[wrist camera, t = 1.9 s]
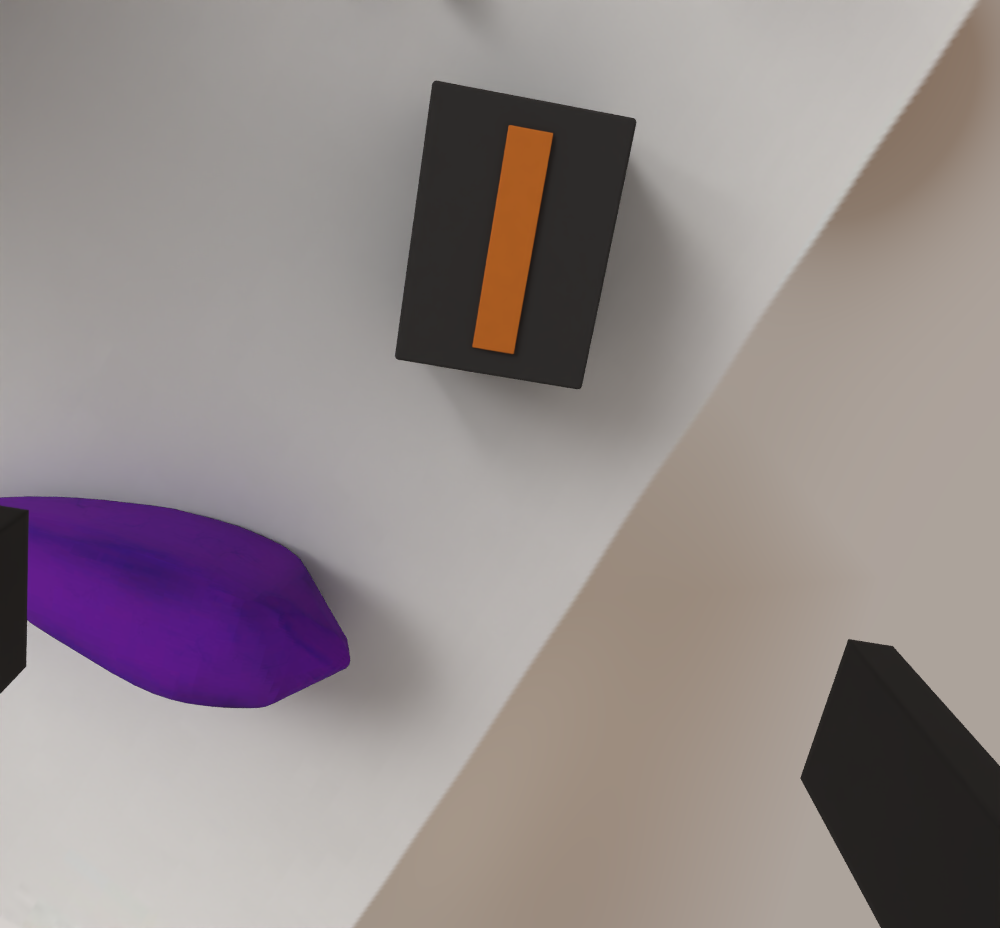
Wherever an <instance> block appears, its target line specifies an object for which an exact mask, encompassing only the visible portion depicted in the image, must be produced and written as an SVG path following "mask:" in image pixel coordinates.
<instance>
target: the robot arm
mask: <svg viewBox="0 0 1000 928" xmlns="http://www.w3.org/2000/svg"><path fill="white" fill-rule="evenodd" d="M28 530H29V510H26V509H20V508H13V507H7V506H1V505H0V693H1V692H2V691H3V690H4V689H5V688H6V687H7V686H8V685H9V684H10V683H11V682H12V681H13V680H14V679H15V678H16V677H17V676H18V674H19V673H20V672H21V671H22V670H23V669H24V668H25V667H26V647H27V589H28ZM801 780H802V782H803V784H804V786H805V788H806V789H807V791H808V793H809V795H810V797H811V799H812V801H813V803H814V804H815V806H816V808H817V810H818V812H819V814H820V815H821V817H822V819H823V821H824V823H825V824H826V827H827V829H828V830H829V832H830V834H831V836H832V838H833V839H834V841H835V843H836V845H837V847H838V849H839V851H840V853H841V854H842V856H843V858H844V860H845V862H846V864H847V865H848V868H849V869H850V871H851V873H852V875H853V877H854V879H855V880H856V882H857V884H858V886H859V888H860V890H861V892H862V894H863V895H864V897H865V899H866V901H867V903H868V905H869V906H870V908H871V910H872V912H873V914H874V916H875V918H876V920H877V921H878V923H879V925H880V927H881V928H1000V766H999V765H998V764H997V762H996V761H995V760H994V759H993V758H992V757H991V756H990V755H989V753H988V752H987V751H986V750H985V749H984V748H983V747H982V746H981V745H980V744H979V742H978V741H977V740H976V739H975V738H974V737H973V736H972V734H971V733H970V732H969V731H968V730H967V729H966V728H965V727H964V725H963V724H962V723H961V722H960V721H959V720H958V719H957V718H956V717H955V715H954V714H953V713H952V712H951V711H950V710H949V709H948V708H947V706H946V705H945V704H944V703H943V702H942V701H941V700H940V699H939V697H937V695H936V694H935V693H934V692H933V691H932V690H931V689H930V687H929V686H928V685H927V684H926V683H925V682H924V681H923V680H922V678H921V677H920V676H919V675H918V674H917V673H916V672H915V671H914V670H913V669H912V667H911V666H910V665H909V664H908V663H907V662H906V661H905V660H904V658H903V657H902V656H901V655H900V654H899V653H898V652H897V651H896V649H895V648H894V647H893V646H888V645H882V644H875V643H869V642H863V641H856V640H850V639H849V640H848V642H847V645H846V648H845V651H844V654H843V656H842V659H841V662H840V665H839V668H838V671H837V674H836V677H835V679H834V683H833V685H832V688H831V691H830V694H829V697H828V700H827V703H826V705H825V708H824V711H823V714H822V717H821V720H820V723H819V726H818V729H817V732H816V735H815V737H814V741H813V743H812V746H811V749H810V752H809V755H808V758H807V761H806V763H805V766H804V769H803V772H802V775H801Z"/></svg>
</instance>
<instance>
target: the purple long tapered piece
mask: <svg viewBox="0 0 1000 928" xmlns="http://www.w3.org/2000/svg"><path fill="white" fill-rule="evenodd" d="M0 505H1V506H7V507H13V508H20V509H26V510H29V530H28V589H27V620H28V621H29V622H30V623H32V624H33V625H35V626H36V627H38V628H39V629H41V630H42V631H44V632H46V633H47V634H49V635H50V636H52V637H53V638H55V639H57V640H58V641H60V642H62V643H63V644H65V645H67V646H68V647H70V648H72V649H73V650H75V651H77V652H78V653H80V654H81V655H83V656H85V657H86V658H88V659H90V660H91V661H93V662H95V663H96V664H98V665H100V666H101V667H103V668H105V669H106V670H108V671H109V672H111V673H113V674H115V675H117V676H119V677H120V678H122V679H124V680H126V681H128V682H129V683H131V684H133V685H135V686H138V687H140V688H142V689H144V690H146V691H149V692H151V693H153V694H156V695H159V696H162V697H165V698H168V699H171V700H175V701H180V702H184V703H189V704H196V705H203V706H211V707H223V708H260V707H266V706H268V705H271V704H273V703H276V702H278V701H280V700H282V699H284V698H285V697H287V696H290V695H292V694H294V693H296V692H298V691H300V690H302V689H304V688H306V687H308V686H310V685H312V684H314V683H317V682H319V681H321V680H323V679H325V678H327V677H329V676H331V675H333V674H335V673H337V672H339V671H341V670H343V669H346V668H347V667H348V665H349V663H350V655H349V647H348V642H347V638H346V636H345V635H344V633H343V631H342V629H341V628H340V626H339V624H338V623H337V621H336V619H335V617H334V616H333V614H332V612H331V610H330V609H329V607H328V605H327V603H326V602H325V600H324V598H323V596H322V595H321V593H320V591H319V590H318V588H317V586H316V584H315V583H314V581H313V579H312V577H311V576H310V574H309V572H308V571H307V569H306V567H305V566H304V564H303V563H302V561H301V560H300V559H299V558H298V557H297V556H296V555H295V554H293V553H292V552H291V551H290V550H288V549H287V548H285V547H284V546H282V545H280V544H278V543H276V542H274V541H272V540H270V539H268V538H265V537H263V536H261V535H259V534H256V533H254V532H251V531H249V530H246V529H244V528H241V527H239V526H236V525H232V524H229V523H226V522H222V521H219V520H216V519H212V518H208V517H204V516H200V515H196V514H192V513H188V512H184V511H180V510H176V509H172V508H165V507H158V506H152V505H143V504H134V503H125V502H117V501H108V500H98V499H86V498H70V497H33V496H27V497H3V498H0Z"/></svg>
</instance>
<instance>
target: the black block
mask: <svg viewBox="0 0 1000 928" xmlns="http://www.w3.org/2000/svg"><path fill="white" fill-rule="evenodd" d="M635 126H636V120H635V119H634V118H630V117H624V116H619V115H614V114H609V113H603V112H598V111H593V110H588V109H582V108H577V107H572V106H567V105H561V104H556V103H551V102H546V101H540V100H535V99H530V98H525V97H519V96H514V95H509V94H504V93H498V92H493V91H488V90H483V89H477V88H472V87H467V86H462V85H456V84H451V83H446V82H441V81H434V82H433V84H432V90H431V97H430V105H429V112H428V119H427V126H426V134H425V141H424V148H423V156H422V163H421V170H420V177H419V185H418V192H417V199H416V207H415V214H414V221H413V228H412V236H411V243H410V250H409V258H408V265H407V272H406V279H405V287H404V294H403V301H402V309H401V316H400V323H399V331H398V338H397V345H396V352H395V357H396V359H398V360H404V361H410V362H416V363H422V364H428V365H434V366H440V367H446V368H452V369H458V370H464V371H470V372H476V373H482V374H488V375H494V376H500V377H506V378H512V379H518V380H524V381H531V382H537V383H543V384H549V385H555V386H561V387H567V388H573V389H581V387H582V383H583V378H584V373H585V368H586V364H587V359H588V354H589V349H590V344H591V339H592V335H593V330H594V325H595V320H596V315H597V310H598V306H599V301H600V296H601V291H602V286H603V281H604V276H605V272H606V267H607V262H608V257H609V252H610V247H611V243H612V238H613V233H614V228H615V223H616V218H617V214H618V209H619V204H620V199H621V194H622V189H623V185H624V180H625V175H626V170H627V165H628V160H629V156H630V151H631V146H632V141H633V136H634V131H635Z"/></svg>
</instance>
